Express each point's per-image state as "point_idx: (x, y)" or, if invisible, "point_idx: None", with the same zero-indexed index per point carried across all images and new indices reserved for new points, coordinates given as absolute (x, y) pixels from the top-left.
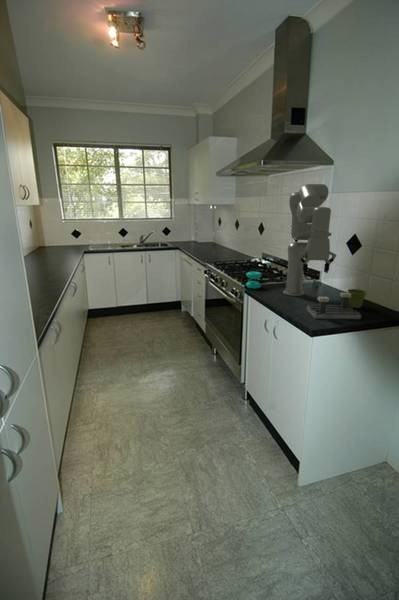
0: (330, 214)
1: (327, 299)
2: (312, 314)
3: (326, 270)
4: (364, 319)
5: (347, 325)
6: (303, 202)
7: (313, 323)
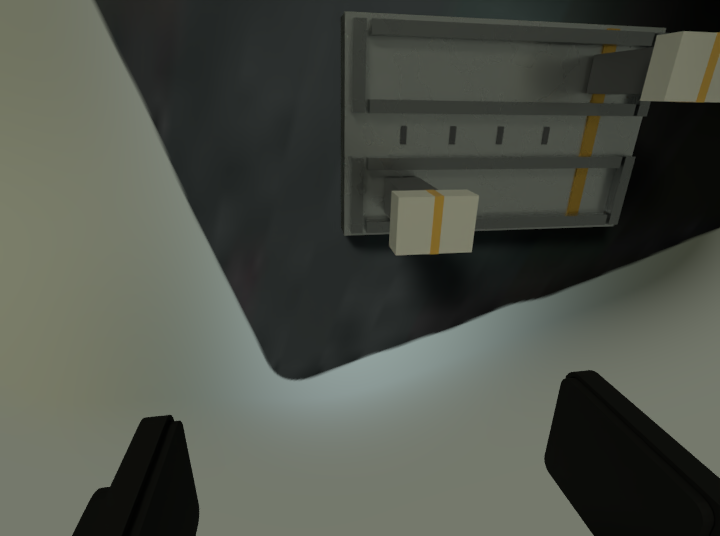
0: None
1: (454, 250)
2: (342, 174)
3: (568, 498)
4: None
5: (475, 312)
6: None
7: (307, 302)
